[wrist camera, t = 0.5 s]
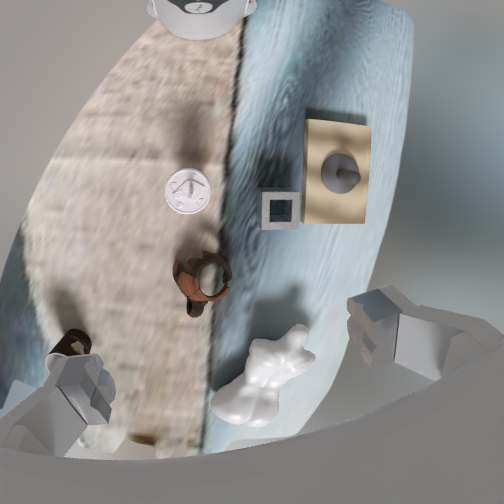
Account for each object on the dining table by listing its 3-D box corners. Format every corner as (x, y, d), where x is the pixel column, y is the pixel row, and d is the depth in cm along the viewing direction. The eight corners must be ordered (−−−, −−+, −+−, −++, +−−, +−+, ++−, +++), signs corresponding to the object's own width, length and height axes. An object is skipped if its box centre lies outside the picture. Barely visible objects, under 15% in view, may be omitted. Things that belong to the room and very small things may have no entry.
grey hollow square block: (257, 187, 50) (262, 192, 45) (291, 187, 51) (300, 192, 46) (256, 221, 52) (261, 229, 48) (290, 221, 53) (298, 229, 48)
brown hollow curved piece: (171, 244, 52) (192, 251, 45) (216, 248, 58) (241, 255, 51) (164, 310, 53) (184, 326, 46) (209, 309, 59) (232, 322, 52)
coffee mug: (55, 328, 53) (37, 356, 44) (83, 320, 54) (68, 349, 45) (80, 368, 58) (68, 397, 48) (109, 362, 58) (99, 393, 49)
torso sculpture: (263, 402, 71) (328, 320, 61) (269, 436, 62) (345, 355, 51) (206, 390, 67) (261, 298, 56) (206, 426, 58) (270, 335, 47)
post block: (304, 119, 47) (321, 116, 40) (366, 126, 49) (389, 126, 41) (300, 221, 53) (316, 234, 46) (359, 220, 55) (381, 233, 48)
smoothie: (214, 195, 50) (218, 214, 37) (178, 206, 49) (168, 229, 36) (204, 158, 47) (203, 164, 34) (167, 170, 47) (152, 180, 34)
